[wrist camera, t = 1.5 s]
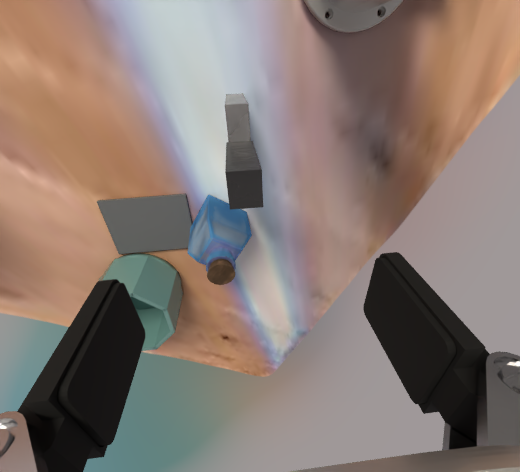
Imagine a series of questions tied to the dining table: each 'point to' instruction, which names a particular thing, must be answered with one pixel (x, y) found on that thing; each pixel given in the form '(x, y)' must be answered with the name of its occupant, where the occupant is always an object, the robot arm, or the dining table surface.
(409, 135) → the dining table surface
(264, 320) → the dining table surface
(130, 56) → the dining table surface
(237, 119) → the brushed metal bar
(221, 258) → the perfume bottle
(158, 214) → the rubber mat
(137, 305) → the utensil pot
